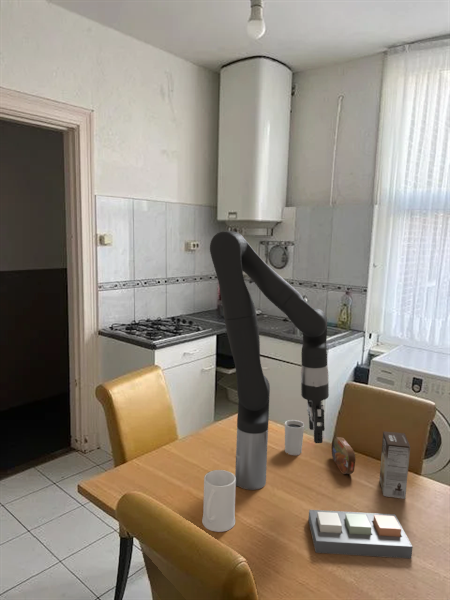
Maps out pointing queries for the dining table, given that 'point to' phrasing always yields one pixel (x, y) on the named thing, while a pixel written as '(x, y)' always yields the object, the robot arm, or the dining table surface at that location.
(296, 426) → the white cup
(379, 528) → the terracotta button
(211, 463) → the dining table surface
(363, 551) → the button panel
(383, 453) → the coffee box
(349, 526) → the sage button
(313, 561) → the dining table surface
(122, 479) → the dining table surface
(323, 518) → the offwhite button
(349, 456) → the tin
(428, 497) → the dining table surface
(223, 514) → the mug
